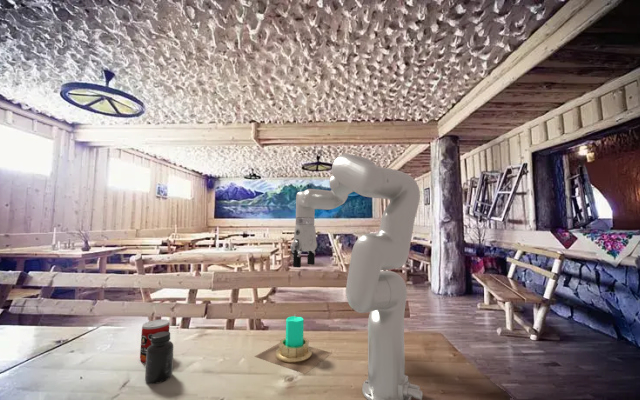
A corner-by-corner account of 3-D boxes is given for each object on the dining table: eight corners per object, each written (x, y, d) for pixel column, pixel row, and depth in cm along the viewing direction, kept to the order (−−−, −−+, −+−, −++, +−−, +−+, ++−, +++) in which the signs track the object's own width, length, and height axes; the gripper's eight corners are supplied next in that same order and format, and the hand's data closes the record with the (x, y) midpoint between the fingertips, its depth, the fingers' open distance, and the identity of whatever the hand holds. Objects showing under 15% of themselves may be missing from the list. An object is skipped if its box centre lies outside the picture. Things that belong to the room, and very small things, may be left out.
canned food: (134, 359, 90) (137, 324, 91) (158, 350, 97) (160, 317, 98) (148, 365, 86) (151, 328, 87) (172, 355, 93) (174, 321, 94)
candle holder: (318, 352, 93) (318, 339, 93) (297, 367, 83) (298, 353, 83) (290, 344, 99) (290, 332, 100) (267, 357, 89) (268, 344, 89)
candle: (300, 356, 87) (301, 317, 89) (282, 354, 89) (283, 316, 90) (305, 348, 93) (305, 312, 95) (288, 346, 95) (289, 310, 96)
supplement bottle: (166, 369, 84) (168, 328, 85) (176, 377, 79) (178, 333, 81) (140, 378, 78) (144, 334, 80) (149, 387, 74) (153, 341, 75)
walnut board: (331, 357, 92) (332, 352, 93) (305, 379, 79) (305, 373, 79) (285, 344, 103) (285, 339, 103) (254, 361, 89) (254, 356, 89)
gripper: (300, 221, 101) (299, 269, 99) (323, 222, 116) (323, 264, 114) (284, 221, 105) (282, 267, 103) (309, 222, 120) (308, 262, 118)
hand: (304, 265), depth 109 cm, fingers open, 9 cm apart
